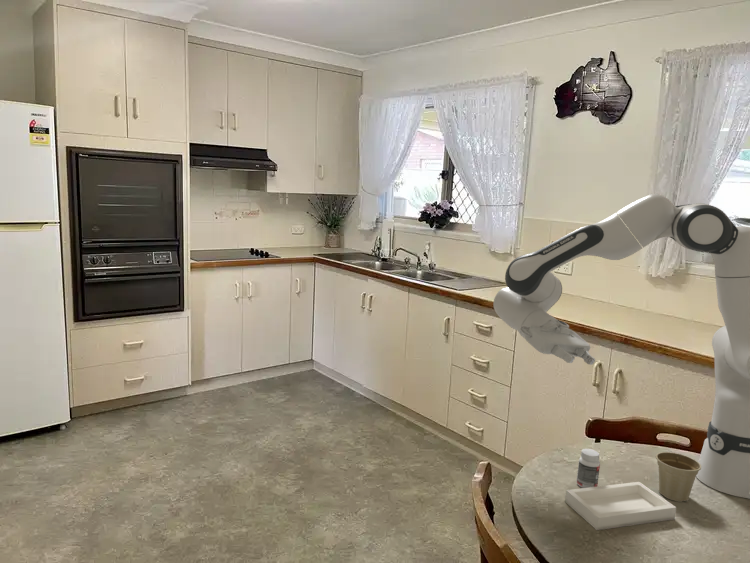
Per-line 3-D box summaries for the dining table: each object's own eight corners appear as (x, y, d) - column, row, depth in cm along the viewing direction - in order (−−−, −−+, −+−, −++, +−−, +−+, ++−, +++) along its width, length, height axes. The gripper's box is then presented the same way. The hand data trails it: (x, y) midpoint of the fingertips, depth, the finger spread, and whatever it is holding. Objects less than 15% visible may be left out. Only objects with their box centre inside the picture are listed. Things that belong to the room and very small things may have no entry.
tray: (637, 492, 131) (639, 481, 131) (674, 519, 121) (676, 507, 120) (564, 501, 125) (566, 490, 125) (597, 530, 115) (598, 517, 115)
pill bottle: (598, 491, 131) (603, 458, 129) (577, 488, 132) (581, 455, 130) (595, 481, 135) (599, 449, 134) (574, 478, 136) (578, 446, 135)
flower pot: (645, 482, 136) (649, 449, 135) (685, 487, 135) (690, 453, 134) (660, 503, 127) (665, 468, 126) (703, 508, 126) (709, 472, 125)
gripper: (523, 315, 136) (565, 348, 126) (568, 323, 149) (610, 353, 139) (511, 337, 138) (551, 370, 128) (557, 342, 151) (597, 373, 141)
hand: (582, 361), depth 134 cm, fingers open, 8 cm apart
